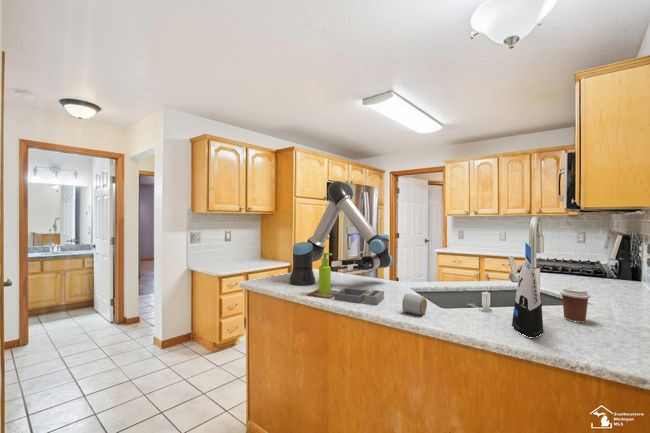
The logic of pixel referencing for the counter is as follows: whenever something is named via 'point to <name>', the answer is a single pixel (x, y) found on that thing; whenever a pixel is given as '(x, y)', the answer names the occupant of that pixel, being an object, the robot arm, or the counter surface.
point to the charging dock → (360, 296)
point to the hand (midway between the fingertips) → (339, 266)
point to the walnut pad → (317, 294)
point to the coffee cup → (575, 303)
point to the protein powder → (527, 301)
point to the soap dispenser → (325, 275)
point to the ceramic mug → (414, 304)
